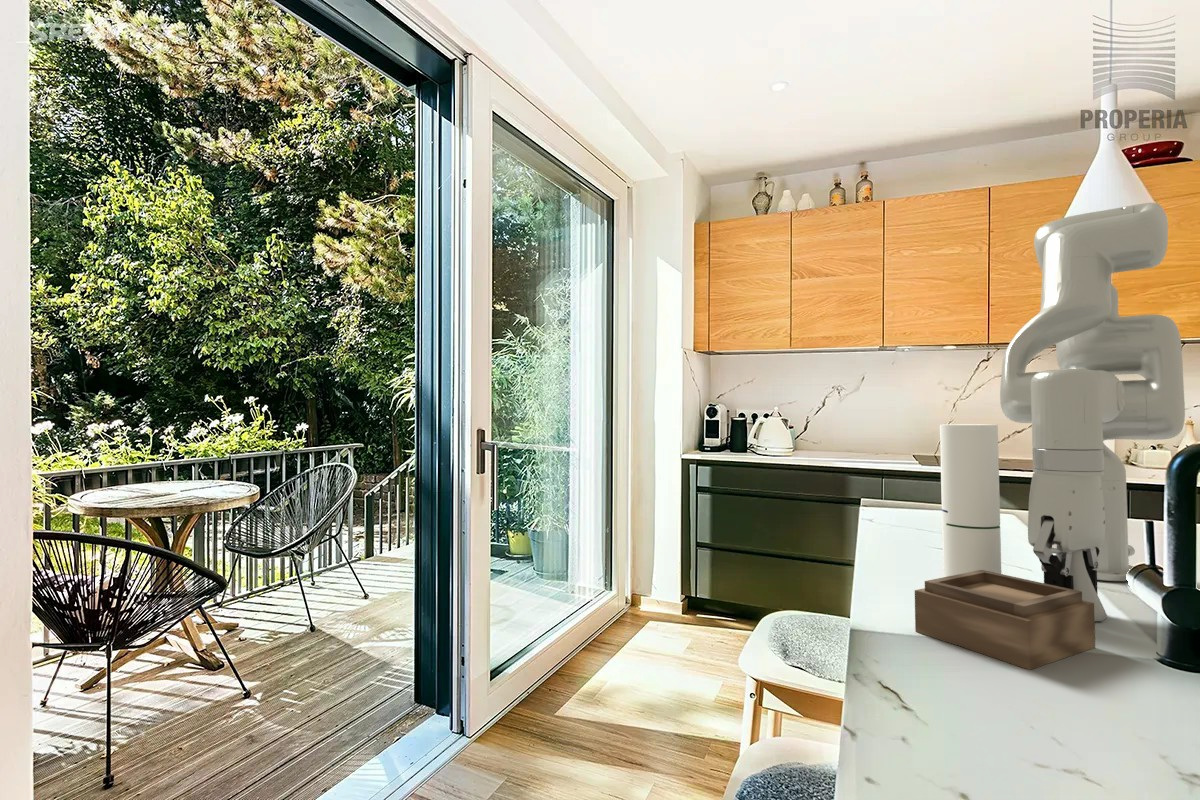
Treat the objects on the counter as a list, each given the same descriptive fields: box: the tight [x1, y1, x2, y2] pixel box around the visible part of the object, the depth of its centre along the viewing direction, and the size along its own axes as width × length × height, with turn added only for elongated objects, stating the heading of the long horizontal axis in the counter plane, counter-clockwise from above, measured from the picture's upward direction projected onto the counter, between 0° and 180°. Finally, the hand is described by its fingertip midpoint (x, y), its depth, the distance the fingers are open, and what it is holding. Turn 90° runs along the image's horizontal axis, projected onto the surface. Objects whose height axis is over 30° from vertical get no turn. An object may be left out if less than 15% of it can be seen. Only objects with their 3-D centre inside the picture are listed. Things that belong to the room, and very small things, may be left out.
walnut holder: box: [914, 570, 1096, 671], centre depth 73 cm, size 13×13×6 cm
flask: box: [1057, 545, 1108, 622], centre depth 82 cm, size 7×7×10 cm
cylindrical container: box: [939, 423, 1002, 578], centre depth 88 cm, size 7×7×25 cm
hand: (1071, 599), depth 82 cm, fingers closed on flask, 4 cm apart
